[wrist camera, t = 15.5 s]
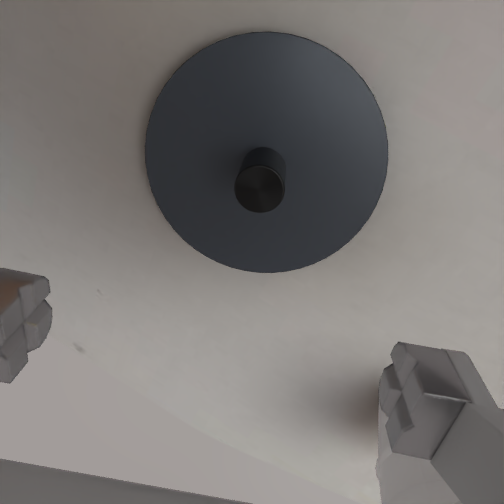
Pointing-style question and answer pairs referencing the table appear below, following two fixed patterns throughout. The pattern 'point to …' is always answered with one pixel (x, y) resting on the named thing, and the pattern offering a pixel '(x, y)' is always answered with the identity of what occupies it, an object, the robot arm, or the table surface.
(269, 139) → the lid
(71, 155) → the table surface
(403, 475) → the ice cream cone
